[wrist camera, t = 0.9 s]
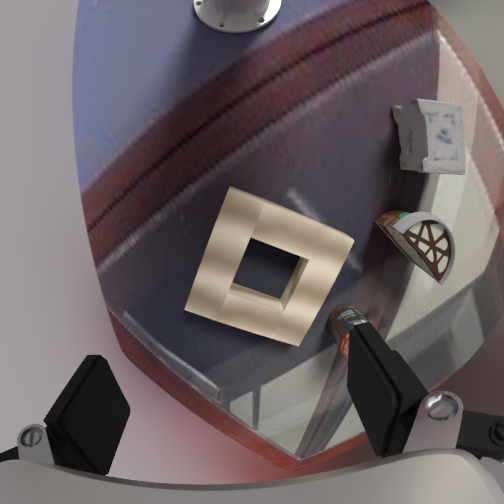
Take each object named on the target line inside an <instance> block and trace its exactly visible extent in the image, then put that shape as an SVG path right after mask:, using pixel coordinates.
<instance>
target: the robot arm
mask: <svg viewBox="0 0 504 504" xmlns="http://www.w3.org/2000/svg"><path fill="white" fill-rule="evenodd" d="M193 3H194V9H195V12H196V14H197V16H198V18H199V19H200V20H201V21H202V22H203V23H204V24H206V25H207V26H209V27H210V28H212V29H215V30H218V31H221V32H226V33H246V32H251V31H255V30H257V29H260V28H262V27H264V26H266V25H267V24H269V23H270V22H271V21H272V20H273V19H274V18H275V17H276V15H277V14H278V12H279V9H280V6H281V0H193ZM198 5H199V6H198ZM260 22H263V23H260ZM221 26H224V27H221ZM347 387H348V391H349V394H350V396H351V398H352V401H353V403H354V405H355V408H356V410H357V412H358V415H359V417H360V419H361V421H362V424H363V426H364V428H365V431H366V433H367V436H368V438H369V440H370V443H371V445H372V447H373V450H374V452H375V454H376V456H381V457H382V458H381V459H378V460H374V461H370V462H366V463H362V464H358V465H355V466H350V467H347V468H343V469H338V470H334V471H329V472H324V473H318V474H313V475H308V476H302V477H296V478H289V479H282V480H275V481H266V482H256V483H243V484H222V485H190V484H188V485H187V484H167V483H154V482H144V481H136V480H128V479H121V478H115V477H109V476H105V475H106V474H108V473H109V470H110V467H111V464H112V461H113V458H114V456H115V453H116V450H117V447H118V445H119V442H120V439H121V436H122V434H123V431H124V429H125V426H126V423H127V420H128V418H129V415H130V406H129V404H128V402H127V400H126V399H125V397H124V395H123V393H122V391H121V389H120V387H119V385H118V383H117V381H116V379H115V377H114V375H113V373H112V370H111V369H110V366H109V364H108V362H107V360H106V359H104V358H103V357H102V356H101V355H87V356H86V358H85V359H84V361H83V362H82V363H81V365H80V366H79V367H78V369H77V370H76V372H75V373H74V375H73V376H72V378H71V379H70V381H69V382H68V384H67V385H66V386H65V388H64V390H63V391H62V393H61V394H60V395H59V397H58V399H57V400H56V402H55V403H54V405H53V406H52V408H51V409H50V411H49V412H48V414H47V415H46V417H45V419H44V422H45V423H46V425H47V427H46V428H44V427H43V426H42V425H39V424H32V425H29V426H27V427H25V428H24V429H23V430H22V431H21V432H20V433H19V435H18V438H17V444H18V446H16V447H14V448H12V449H9V450H7V451H5V452H3V453H0V504H504V417H503V416H497V415H490V414H484V413H478V412H472V411H467V410H463V404H462V402H461V400H460V399H459V397H458V396H456V395H454V394H453V393H451V392H447V391H437V392H432V393H430V394H429V393H428V391H427V390H426V389H425V387H424V386H423V385H422V383H421V382H420V380H419V379H418V378H417V376H416V375H415V374H414V372H413V371H412V370H411V368H410V367H409V366H408V364H407V363H406V362H405V360H404V359H403V358H402V356H401V355H400V354H399V353H398V352H397V351H396V350H393V351H391V349H390V348H389V347H388V345H387V344H386V343H385V341H384V340H383V339H382V337H381V336H380V335H379V333H378V332H377V331H376V329H375V328H374V327H373V325H372V324H371V323H370V322H365V323H361V324H356V325H354V327H353V329H352V330H350V331H349V354H348V377H347Z"/></svg>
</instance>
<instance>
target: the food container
mask: <svg viewBox="0 0 504 504" xmlns="http://www.w3.org/2000/svg"><path fill="white" fill-rule="evenodd" d="M374 221H375V222H376V223H377V225H378V226H379V227H380V228H381V229H382V230H383V231H384V232H385V233H386V235H387V236H388V237H389V238H390V239H391V240H392V241H393V242H394V244H395V245H396V246H397V247H398V248H399V249H400V251H401V252H402V253H403V254H404V255H405V256H406V258H408V259H409V260H410V261H412V262H413V263H414V264H416V265H417V266H418V267H420V268H421V269H422V270H423V271H425V272H426V273H427V274H429V275H430V276H431V277H433V278H434V279H435V280H436V282H438V283H439V284H442V285H443V284H444V283H445V281H446V280H447V278H448V276H449V275H450V272H451V270H452V267H453V264H454V259H455V243H454V239H453V236H452V234H451V232H450V230H449V228H448V227H447V226H446V224H445V223H444V222H443V221H442V220H440V219H439V218H438V217H437V216H435V215H433V214H431V213H428V212H414V213H408V212H404V211H400V210H390V211H387V212H384V213H383V214H381V215H380V216H378V217H377V218H376V219H375V220H374Z"/></svg>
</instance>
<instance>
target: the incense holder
mask: <svg viewBox="0 0 504 504" xmlns="http://www.w3.org/2000/svg"><path fill="white" fill-rule="evenodd" d="M392 110H393V116H394V119H395V121H396V123H397V124H398V131H399V141H400V146H401V154H400V156H399V160H400V168H401V170H412V171H413V170H414V171H417V172H419V173H439V174H459V175H464V174H465V171H466V167H465V144H464V126H463V114H462V107H461V106H460V105H459V104H454V103H448V102H441V101H433V100H424V99H418V98H416V99H413V100H412V101H411V104H408V105H403V106H393V107H392Z"/></svg>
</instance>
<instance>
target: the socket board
mask: <svg viewBox="0 0 504 504" xmlns="http://www.w3.org/2000/svg"><path fill="white" fill-rule="evenodd" d="M250 238H254V239H256V240H259V241H262V242H264V243H267V244H269V245H272V246H275V247H277V248H280V249H282V250H285V251H288V252H290V253H293V254H295V255H298V256H301V257H300V259H299V261H298V263H297V265H296V268H295V270H294V272H293V274H292V276H291V278H290V280H289V282H288V284H287V286H286V288H285V290H284V293H283V295H282V297H281V299H278V298H275V297H272V296H269V295H266V294H263V293H261V292H258V291H255V290H252V289H249V288H246V287H243V286H241V285H238V284H235V283H232V281H233V279H234V276H235V274H236V271H237V269H238V267H239V264H240V262H241V259H242V257H243V255H244V252H245V250H246V247H247V245H248V243H249V240H250ZM353 243H354V240H353V239H352V238H351V237H349V236H348V235H347V234H346V233H344V232H341V231H339V230H337V229H335V228H332V227H330V226H328V225H325V224H323V223H321V222H319V221H316V220H314V219H312V218H309V217H307V216H305V215H302V214H300V213H297V212H295V211H293V210H290V209H288V208H285V207H283V206H281V205H278V204H276V203H273V202H271V201H268V200H266V199H263V198H261V197H258V196H256V195H253V194H251V193H248V192H245V191H243V190H240V189H238V188H235V187H233V186H230V187H229V190H228V192H227V195H226V197H225V200H224V202H223V205H222V208H221V210H220V213H219V215H218V218H217V221H216V223H215V226H214V229H213V231H212V234H211V237H210V239H209V242H208V245H207V247H206V250H205V253H204V256H203V258H202V261H201V264H200V267H199V269H198V272H197V275H196V278H195V281H194V284H193V286H192V289H191V292H190V295H189V298H188V301H187V304H186V307H185V310H186V311H189V312H192V313H195V314H198V315H201V316H203V317H206V318H209V319H212V320H215V321H218V322H221V323H224V324H227V325H230V326H233V327H236V328H239V329H242V330H246V331H249V332H252V333H255V334H258V335H262V336H265V337H268V338H272V339H275V340H278V341H282V342H285V343H289V344H292V345H296V346H299V345H300V343H301V341H302V340H303V338H304V336H305V334H306V333H307V331H308V329H309V327H310V326H311V324H312V322H313V320H314V318H315V317H316V315H317V313H318V311H319V309H320V307H321V306H322V304H323V302H324V300H325V298H326V296H327V294H328V293H329V291H330V289H331V287H332V285H333V283H334V281H335V279H336V277H337V275H338V273H339V271H340V269H341V267H342V265H343V263H344V261H345V259H346V257H347V255H348V253H349V251H350V249H351V247H352V245H353Z"/></svg>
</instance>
